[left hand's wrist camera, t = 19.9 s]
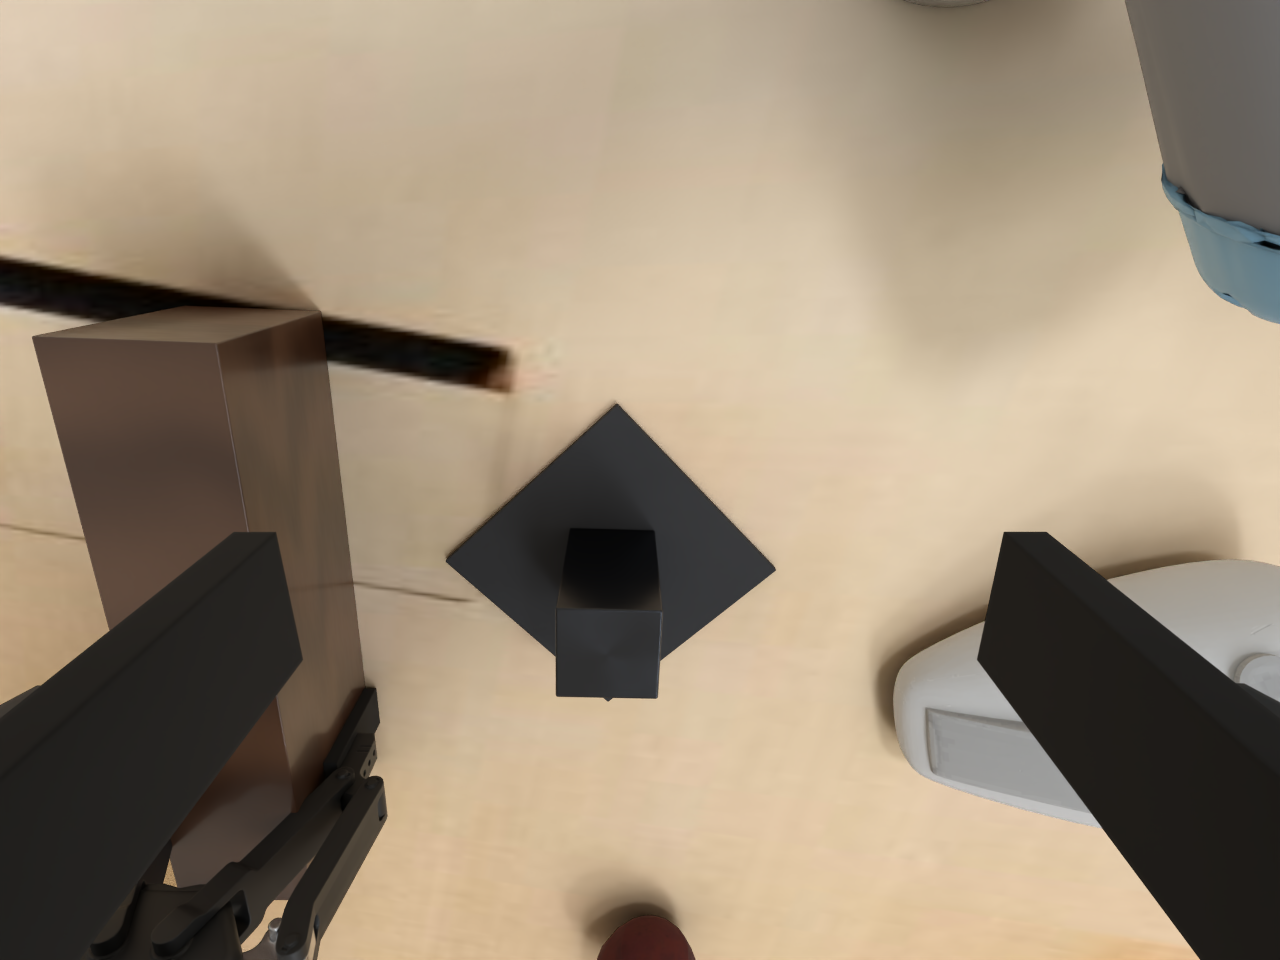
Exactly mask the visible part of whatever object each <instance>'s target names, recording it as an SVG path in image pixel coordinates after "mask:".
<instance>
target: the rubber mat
mask: <svg viewBox="0 0 1280 960" xmlns="http://www.w3.org/2000/svg"><path fill="white" fill-rule="evenodd" d="M570 528H590V529H625V530H654V531H655V536H656V546H657V556H658V567H659V577H660V587H661V597H662V607H663V620H662V636H661V653H660V661H661V660H662V659H663V658H665V657H666V656H667V655H668V654H670V653H671V652H672V651H673V650H675V649H676V648H677V647H679V646H680V645H681V644H682V643H684V642H685V641H686V640H688V639H689V638H690V637H691V636H693V635H694V634H695V633H696V632H698V631H699V630H700V629H702V628H703V627H704V626H705V625H707V624H708V623H709V622H711V621H712V620H713V619H714V618H716V617H717V616H718V615H719V614H721V613H722V612H723V611H725V610H726V609H727V608H728V607H730V606H731V605H732V604H734V603H735V602H736V601H737V600H739V599H740V598H741V597H743V596H744V595H745V594H746V593H748V592H749V591H750V590H751V589H753V588H754V587H755V586H757V585H758V584H759V583H760V582H762V581H763V580H764V579H766V578H767V577H768V576H769V575H771V574H772V573H773V572H774V571H776V569H775V567H774V566H773V565H772V564H771V563H770V562H769V561H768V560H767V559H766V558H765V557H764V556H763V554H762V553H761V552H760V551H759V550H758V549H757V548H756V547H755V546H754V545H753V544H752V543H751V542H750V541H749V540H748V539H747V538H746V537H745V536H744V535H743V534H742V533H741V532H740V531H739V530H738V529H737V527H736V526H735V525H734V524H733V523H732V522H731V521H730V520H729V519H728V518H727V517H726V516H725V515H724V514H723V513H722V512H721V511H720V510H719V509H718V508H717V507H716V506H715V505H714V504H713V503H712V501H711V500H710V499H709V498H708V497H707V496H706V495H705V494H704V493H703V492H702V491H701V490H700V489H699V488H698V487H697V486H696V485H695V484H694V483H693V482H692V481H691V480H690V479H689V478H688V477H687V475H686V474H685V473H684V472H683V471H682V470H681V469H680V468H679V467H678V466H677V465H676V464H675V463H674V462H673V461H672V460H671V459H670V458H669V457H668V456H667V455H666V454H665V453H664V452H663V451H662V450H661V448H660V447H659V446H658V445H657V444H656V443H655V442H654V441H653V440H652V439H651V438H650V437H649V436H648V435H647V434H646V433H645V432H644V431H643V430H642V429H641V428H640V427H639V426H638V425H637V424H636V422H635V421H634V420H633V419H632V418H631V417H630V416H629V415H628V414H627V413H626V412H625V411H624V410H623V409H622V408H621V407H620V406H619V405H618V404H616V405H615V406H614V407H613V408H612V409H610V410H609V411H608V412H607V413H606V414H605V415H604V416H603V417H602V418H601V419H599V420H598V421H597V422H596V423H595V424H594V425H593V426H592V427H591V428H590V429H588V430H587V431H586V432H585V433H584V434H583V435H582V436H581V437H580V438H579V439H578V440H576V441H575V442H574V443H573V444H572V445H571V446H570V447H569V448H568V449H567V450H565V451H564V452H563V453H562V454H561V455H560V456H559V457H558V458H557V459H556V460H554V461H553V462H552V463H551V464H550V465H549V466H548V467H547V468H546V469H545V470H544V471H542V472H541V473H540V474H539V475H538V476H537V477H536V478H535V479H534V480H533V481H531V482H530V483H529V484H528V485H527V486H526V487H525V488H524V489H523V490H522V491H520V492H519V493H518V494H517V495H516V496H515V497H514V498H513V499H512V500H511V501H510V502H508V503H507V504H506V505H505V506H504V507H503V508H502V509H501V510H500V511H499V512H497V513H496V514H495V515H494V516H493V517H492V518H491V519H490V520H489V521H488V522H486V523H485V524H484V525H483V526H482V527H481V528H480V529H479V530H478V531H477V532H476V533H474V534H473V535H472V536H471V537H470V538H469V539H468V540H467V541H466V542H465V543H463V544H462V545H461V546H460V547H459V548H458V549H457V550H456V551H455V552H454V553H452V554H451V555H450V556H449V557H448V558H447V560H446V562H447V563H448V564H449V565H450V566H451V567H453V568H454V569H455V570H456V571H457V572H458V573H459V574H461V575H462V576H463V577H464V578H465V579H466V580H468V581H469V582H470V583H471V584H472V585H473V586H475V587H476V588H477V589H478V590H479V591H480V592H481V593H483V594H484V595H485V596H486V597H487V598H488V599H490V600H491V601H492V602H493V603H494V604H495V605H497V606H498V607H499V608H500V609H501V610H502V611H503V612H505V613H506V614H507V615H508V616H509V617H510V618H512V619H513V620H514V621H515V622H516V623H517V624H519V625H520V626H521V627H522V628H523V629H524V630H526V631H527V632H528V633H529V634H530V635H531V636H532V637H534V638H535V639H536V640H537V641H538V642H539V643H541V644H542V645H543V646H544V647H545V648H546V649H548V650H549V651H550V652H551V653H552V654H553V655H554V656H556V604H557V598H558V593H559V587H560V581H561V576H562V570H563V564H564V558H565V553H566V547H567V541H568V535H569V530H570ZM604 699H605V700H607V701H610V700H611V699H612V698H604Z"/></svg>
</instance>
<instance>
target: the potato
mask: <svg viewBox="0 0 1280 960" xmlns="http://www.w3.org/2000/svg"><path fill="white" fill-rule="evenodd" d="M597 960H695V957H694V954H693V952H692V949H691V947H690V945H689V944H688V942H687V940H686V938H685V937H684V935H683V934H682V932H681V931H680V930H679V928H678V927H676V926H675V925H674V924H672V923H671V922H669V921H668V920H666V919H665V918H661V917H658V916H654V915H648V916H640V917H636V918H633V919H632V920H630V921H628V922H626V923H625V924H623V925H622V926H620V927H618V928H617V930H616V931H615V932H614V933H613V934H612V935H611V937H610V938H609V939H608V940H607V941H606V942H605V944H604V945H603V946H602V948H601V950H600V953H599V956H598V958H597Z"/></svg>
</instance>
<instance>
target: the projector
mask: <svg viewBox="0 0 1280 960" xmlns="http://www.w3.org/2000/svg"><path fill="white" fill-rule="evenodd" d="M1107 581H1108V582H1110V583H1111V584H1112V585H1113V586H1115V587H1116V588H1117V589H1119V590H1120V591H1121V592H1122V593H1124V594H1125V595H1126V596H1127V597H1129V598H1130V599H1131V600H1132V601H1134V602H1135V603H1136V604H1137V605H1139V606H1140V607H1141V608H1142V609H1144V610H1145V611H1146V612H1147V613H1149V614H1150V615H1151V616H1152V617H1154V618H1155V619H1156V620H1157V621H1159V622H1160V623H1161V624H1162V625H1164V626H1165V627H1166V628H1167V629H1169V630H1170V631H1171V632H1172V633H1174V634H1175V635H1176V636H1177V637H1179V638H1180V639H1181V640H1182V641H1184V642H1185V643H1186V644H1187V645H1189V646H1190V647H1191V648H1192V649H1194V650H1195V651H1196V652H1197V653H1199V654H1200V655H1201V656H1202V657H1204V658H1205V659H1206V660H1208V661H1209V662H1210V663H1211V664H1213V665H1214V666H1215V667H1216V668H1218V669H1219V670H1220V671H1221V672H1223V673H1224V674H1225V675H1226V676H1228V677H1229V678H1230V679H1231V680H1233V681H1234V682H1235V683H1245V684H1247V685H1248V686H1250V687H1252V688H1254V689H1256V690H1258V691H1260V692H1262V693H1264V694H1266V695H1267V696H1269V697H1271V698H1273V699H1275V700H1277V701H1279V702H1280V567H1279V566H1275V565H1272V564H1268V563H1264V562H1257V561H1250V560H1232V559H1230V560H1209V561H1200V562H1191V563H1185V564H1179V565H1172V566H1166V567H1161V568H1156V569H1151V570H1147V571H1142V572H1137V573H1133V574H1129V575H1124V576H1120V577H1116V578H1112V579H1108V580H1107ZM984 623H985V621H983V622H981V623H979V624H976V625H974V626H972V627H969V628H967V629H965V630H963V631H960V632H958V633H956V634H954V635H952V636H950V637H948V638H946V639H944V640H942V641H940V642H938V643H936V644H934V645H932V646H930V647H928V648H926V649H925V650H923V651H921V652H919V653H918V654H916V655H915V656H913V657H912V658H910V659H909V660H908V661H907V662H906V663H905V664H904V665H903V666H902V667H901V669H900V671H899V673H898V675H897V678H896V682H895V687H894V694H893V707H894V719H895V727H896V734H897V739H898V742H899V745H900V748H901V750H902V752H903V754H904V756H905V758H906V759H907V761H908V762H909V764H910V765H911V767H912V768H913V769H914V770H915V771H917V772H918V773H919V774H920V775H922V776H924V777H926V778H928V779H930V780H932V781H935V782H937V783H940V784H943V785H945V786H948V787H951V788H954V789H957V790H960V791H963V792H966V793H969V794H972V795H975V796H978V797H982V798H985V799H988V800H992V801H995V802H999V803H1002V804H1006V805H1009V806H1012V807H1016V808H1019V809H1023V810H1026V811H1030V812H1034V813H1038V814H1042V815H1046V816H1050V817H1054V818H1058V819H1062V820H1066V821H1070V822H1074V823H1079V824H1084V825H1088V826H1093V827H1098V828H1102V827H1101V826H1100V824H1099V823H1098V822H1097V820H1096V819H1095V818H1094V816H1093V815H1092V814H1091V812H1090V811H1089V810H1088V808H1087V807H1086V806H1085V804H1084V803H1083V802H1082V800H1081V799H1080V798H1079V796H1078V795H1077V794H1076V792H1075V791H1074V790H1073V788H1072V787H1071V786H1070V784H1069V783H1068V782H1067V780H1066V779H1065V778H1064V776H1063V775H1062V773H1061V772H1060V771H1059V769H1058V768H1057V767H1056V765H1055V764H1054V763H1053V761H1052V760H1051V759H1050V757H1049V756H1048V755H1047V753H1046V752H1045V751H1044V749H1043V748H1042V747H1041V745H1040V744H1039V743H1038V741H1037V740H1036V739H1035V737H1034V736H1033V735H1032V733H1031V732H1030V731H1029V729H1028V728H1027V727H1026V725H1025V724H1024V722H1023V721H1022V720H1021V718H1020V717H1019V716H1018V714H1017V713H1016V712H1015V710H1014V709H1013V708H1012V706H1011V705H1010V704H1009V702H1008V701H1007V700H1006V698H1005V697H1004V696H1003V694H1002V693H1001V692H1000V690H999V689H998V688H997V686H996V685H995V684H994V682H993V681H992V680H991V678H990V677H989V676H988V674H987V673H986V671H985V670H984V669H983V667H982V666H981V665H980V663H979V662H978V661H977V656H978V652H979V647H980V642H981V638H982V633H983V628H984Z"/></svg>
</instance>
